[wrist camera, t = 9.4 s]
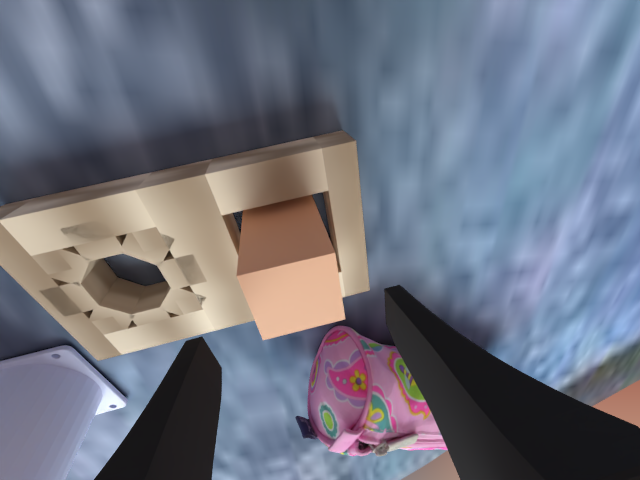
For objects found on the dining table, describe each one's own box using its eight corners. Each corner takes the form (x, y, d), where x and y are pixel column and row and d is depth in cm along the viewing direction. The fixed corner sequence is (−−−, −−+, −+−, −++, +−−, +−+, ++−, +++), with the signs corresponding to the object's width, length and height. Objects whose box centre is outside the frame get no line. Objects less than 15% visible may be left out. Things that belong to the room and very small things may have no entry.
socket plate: (114, 329, 20) (97, 360, 18) (4, 204, 15) (-38, 228, 12) (358, 267, 21) (369, 290, 19) (342, 130, 16) (356, 140, 14)
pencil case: (288, 368, 26) (300, 490, 19) (339, 299, 23) (379, 416, 15) (443, 395, 35) (494, 486, 28) (498, 348, 32) (573, 439, 24)
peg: (261, 255, 19) (263, 340, 13) (243, 202, 17) (236, 276, 11) (319, 241, 19) (345, 319, 14) (309, 187, 17) (335, 252, 11)
